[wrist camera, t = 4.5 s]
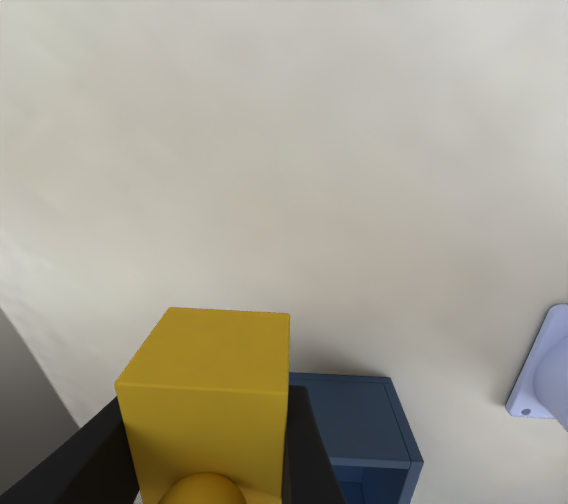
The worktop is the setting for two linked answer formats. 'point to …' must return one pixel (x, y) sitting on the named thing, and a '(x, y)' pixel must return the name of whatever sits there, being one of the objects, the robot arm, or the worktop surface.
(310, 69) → the worktop surface
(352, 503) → the open box
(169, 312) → the duck
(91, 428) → the robot arm
